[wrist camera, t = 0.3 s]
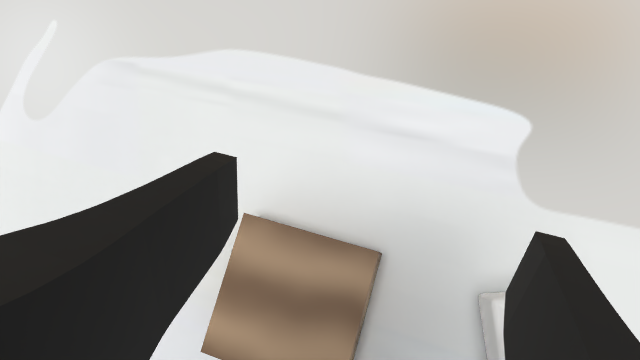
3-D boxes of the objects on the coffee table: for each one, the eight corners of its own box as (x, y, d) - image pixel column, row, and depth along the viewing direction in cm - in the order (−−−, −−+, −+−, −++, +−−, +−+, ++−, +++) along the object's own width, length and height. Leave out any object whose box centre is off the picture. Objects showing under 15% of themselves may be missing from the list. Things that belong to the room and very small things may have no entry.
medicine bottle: (490, 385, 36) (525, 439, 25) (476, 293, 38) (504, 304, 26) (587, 381, 35) (672, 436, 24) (569, 286, 37) (640, 294, 25)
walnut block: (345, 390, 39) (337, 404, 35) (220, 344, 42) (200, 351, 38) (382, 253, 40) (378, 252, 37) (259, 217, 43) (243, 212, 39)
